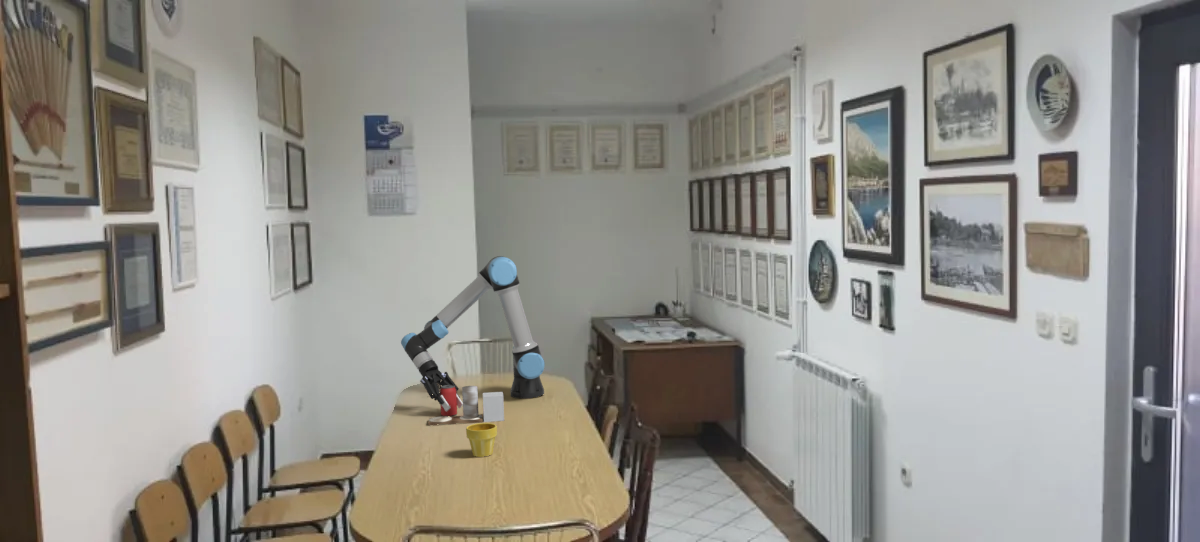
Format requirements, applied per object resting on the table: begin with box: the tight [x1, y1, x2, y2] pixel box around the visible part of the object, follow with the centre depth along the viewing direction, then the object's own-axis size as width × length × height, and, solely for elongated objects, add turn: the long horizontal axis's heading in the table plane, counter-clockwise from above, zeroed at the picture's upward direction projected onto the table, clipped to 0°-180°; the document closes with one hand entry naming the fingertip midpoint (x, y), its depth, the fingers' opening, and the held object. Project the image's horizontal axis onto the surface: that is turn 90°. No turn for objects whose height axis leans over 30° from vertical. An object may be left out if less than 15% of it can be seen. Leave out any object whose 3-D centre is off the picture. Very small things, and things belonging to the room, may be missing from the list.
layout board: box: [427, 385, 484, 426], centre depth 342 cm, size 21×9×13 cm, turn 98°
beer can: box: [440, 385, 458, 416], centre depth 354 cm, size 7×7×12 cm
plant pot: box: [465, 422, 498, 458], centre depth 294 cm, size 10×10×10 cm
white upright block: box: [482, 391, 505, 423], centre depth 345 cm, size 8×8×10 cm
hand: (454, 407), depth 352 cm, fingers closed on beer can, 6 cm apart
